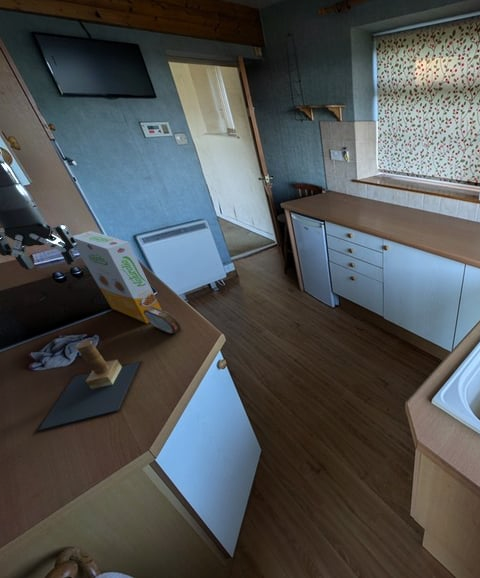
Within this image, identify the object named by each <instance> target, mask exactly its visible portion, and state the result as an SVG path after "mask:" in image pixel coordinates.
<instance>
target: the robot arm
mask: <svg viewBox="0 0 480 578" xmlns="http://www.w3.org/2000/svg"><path fill="white" fill-rule="evenodd" d="M0 227H1V228H3V230H0V255H1V256H3V257H5V256H9V257H10V256H11V257H14V258H15V260H16V261H17V262H18V264H19V265H20V267H21V268H23V269H25V270H27V271H28V270H32V269H34V267H35V263H34V262H33V261H32V259H31V258H30V256H29V255H28V254H27V253H26V252H25V251H26V248H27V247H28V248H29V247H34V246H44V245H46V246H48V247H50V248H54V249H56V250H58V251H60V254H61V256H62V257H63V259H64V260H65V262H66V264H67V265H68V266H71V265H74V264H75V263H76V261H77V257H76V256H75V253H74V252H73V251H72V249H74V248H76V247H75V246H77V245H78V243H77V241H76V240H75V238H74V237H73V236H74V235H73V234H72V232H71V231H70V229H69V227H68V226H67V225H66V224H63V223H61V224H59V225H55V226H54V225H53V226H50V225H49V224H48V222H47V220H46V218H45V217H44V215H43V213H42V211H41V210H40V208H39V207H38V205H37V203H36V201H35V199H34V197H32V196H31V194H30V192H29V190H28V189H27V188H26V187H25V186H24V184H23V183H22V182H21V180H20V178H19V177H18V175H17V174H16V172H15V170H14V169H13V167H12V166H11V164H10V163H9V161H8V160H7V159H6V157H5V155H4V153H3V151H2V149H1V148H0ZM53 233H55V235H54V234H53ZM58 236H59V237H58ZM8 238H9V239H10V240H14V242H13V245H12V246H11V244H10V242H9V241H8Z"/></svg>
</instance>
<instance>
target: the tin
mask: <svg viewBox="0 0 480 578" xmlns="http://www.w3.org/2000/svg"><path fill="white" fill-rule="evenodd" d="M144 314H145V316H146V317H147V319H148V321H149V323H150V324H151V325H152V326H153V327H154V328H157V329H158V330H160V331H163V332H165V333H168V334H170V335H174V334H176V333H177V332H179V331H181V328H182V327H181V325H180V323H179V322H178V320H177V319H176V317H174V316H173V315H172V314H171V313H169V312H167V311H165V310H163V309H161V310H160V309H158V308H155V307H153V306H151V307H150V308H148V309H146V310H145V311H144Z"/></svg>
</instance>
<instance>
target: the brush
mask: <svg viewBox="0 0 480 578" xmlns="http://www.w3.org/2000/svg"><path fill="white" fill-rule="evenodd" d="M75 348H76V350H77V352H78V353H79V354H80V355H81V357H82V358H83V359H84V361H85V362H86V364H87V365H88V366H89V367H90V369H91V372H90V373H91V374H90V375H89V377H88V378H87V380H86V383H87V384H88V385H89V387H90V388H91V389H94V388H99V387H103V386H108V385H112V384H113V383H114V381H115V379H116V377H117V375H118V374H119V372H120V370H121V368H122V366H123V365H121V363H120V362H119V360H118V359H113V360H109V361H106V360H105V359H104V357H103V356H102V355H101V353H100V352H99V350H98V349H97V347H96V346H95V344H94V343H93V342H92V340H90V339H87V340H83V341H81V342H79V343H77V344H76V345H75Z"/></svg>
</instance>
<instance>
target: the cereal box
mask: <svg viewBox="0 0 480 578" xmlns="http://www.w3.org/2000/svg"><path fill="white" fill-rule="evenodd" d="M73 237H74V238H75V240H76V241H77V243H78V245H77V246H75V247H74V248H75V249H76V250H77V252H78V254H79V256H80V257H81V259H82V261H83V263H84V264H85V266H86V268H87V270H88V271H89V273H90V274H91V276H92V278H93V280H94V281H95V283H96V285H97V286H98V288H99V290H100V292H101V293H102V295H103V296H104V298H105V300H106V301H107V303H108V305H109V307H110V309H111V310H112V309H113V310H114V311H117V312H120V313H122V314H123V315H126V316H129V317H131V318H133V319H135V320H138V321H140V322H142V323H145V324H149V323H150V322H149V321H148V319H147V317H146V316H145V314H144V311H145V310H146V309H148V308H150V307H151V306H153V307H155V308H158V309H160V310H162V308H161V305H160V304H159V301H158V299H157V297H156V295H155V292H154V290H153V288H152V287H151V285H150V282H149V281H148V279H147V277H146V274H145V272H144V270H143V268H142V266H141V264H140V262H139V260H138V257H137V255H136V253H135V252H134V249H133V247H132V244H131V243H130V242H129V241H127V240H123V239H120V238H117V237H113V236H110V235H108V234H107V235H106V234H103V233H100V232H96V231H93V230H89V231H85V232H83V233H78V234H75V235H73Z"/></svg>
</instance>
